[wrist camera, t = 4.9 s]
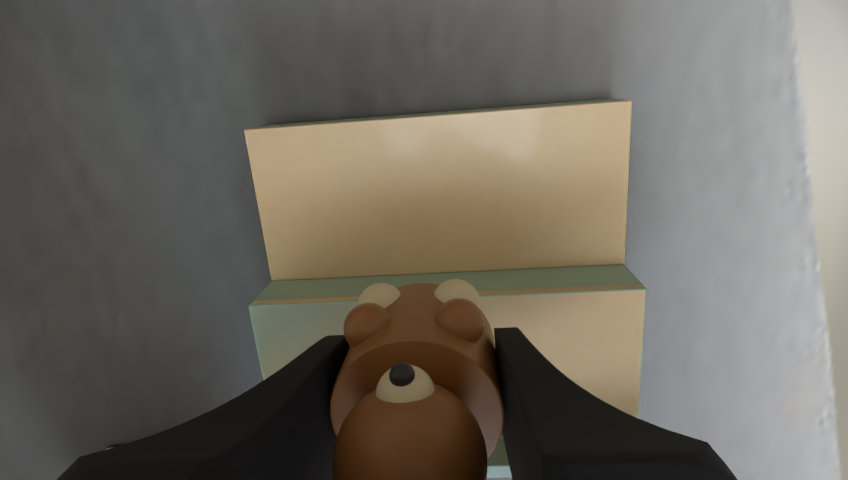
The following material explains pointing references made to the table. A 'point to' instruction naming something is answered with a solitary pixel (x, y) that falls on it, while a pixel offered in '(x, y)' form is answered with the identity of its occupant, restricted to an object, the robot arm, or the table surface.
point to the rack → (458, 230)
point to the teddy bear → (417, 386)
